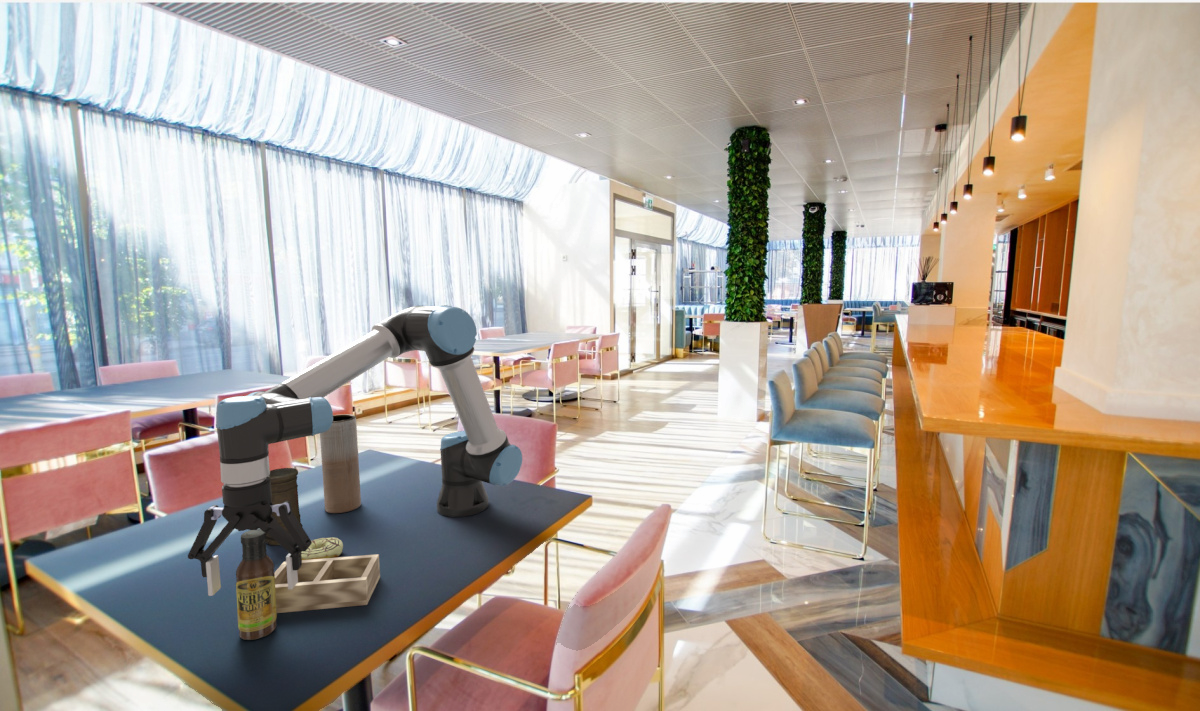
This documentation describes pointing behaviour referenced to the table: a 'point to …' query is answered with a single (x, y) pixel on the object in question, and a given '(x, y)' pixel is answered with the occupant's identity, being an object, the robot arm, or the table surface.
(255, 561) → the sauce bottle
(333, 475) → the vase
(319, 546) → the decorated donut
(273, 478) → the container
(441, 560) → the table surface
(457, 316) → the robot arm
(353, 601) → the caddy
